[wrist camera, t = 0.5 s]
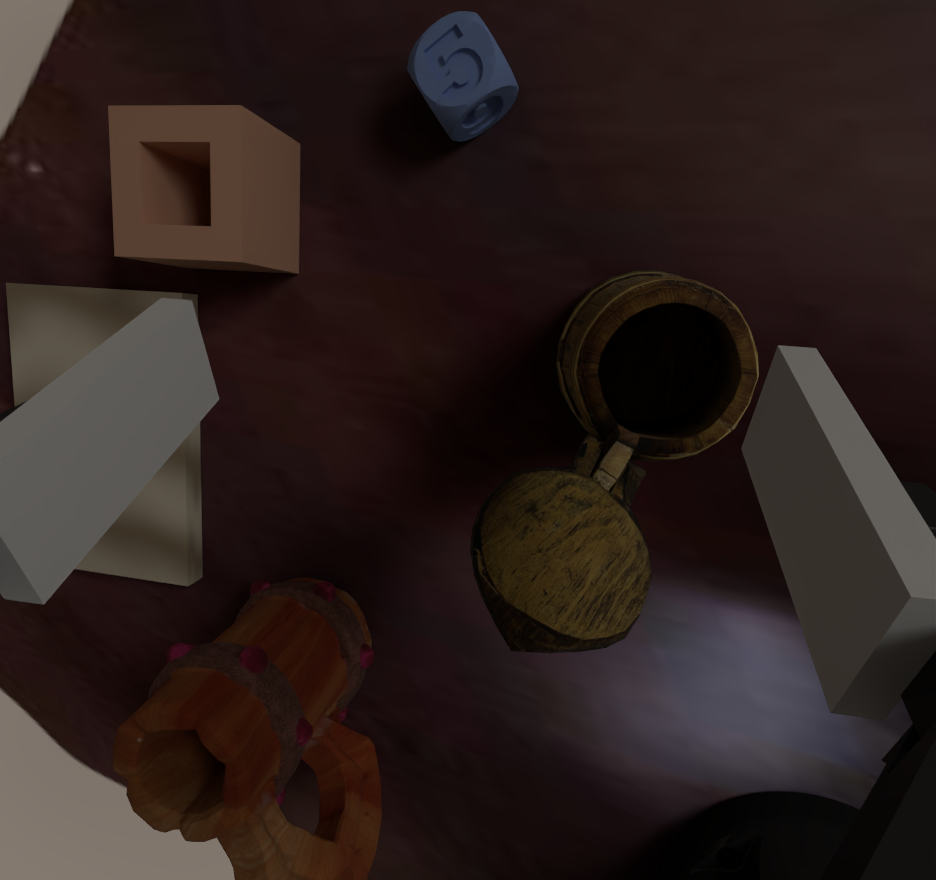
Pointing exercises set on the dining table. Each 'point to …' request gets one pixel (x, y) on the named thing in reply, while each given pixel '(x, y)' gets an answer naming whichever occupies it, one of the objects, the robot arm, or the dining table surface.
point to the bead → (204, 188)
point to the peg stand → (179, 479)
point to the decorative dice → (462, 75)
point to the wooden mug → (610, 458)
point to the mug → (262, 737)
